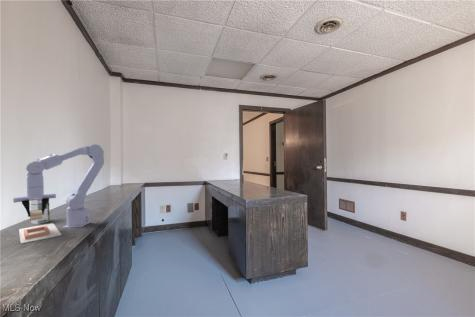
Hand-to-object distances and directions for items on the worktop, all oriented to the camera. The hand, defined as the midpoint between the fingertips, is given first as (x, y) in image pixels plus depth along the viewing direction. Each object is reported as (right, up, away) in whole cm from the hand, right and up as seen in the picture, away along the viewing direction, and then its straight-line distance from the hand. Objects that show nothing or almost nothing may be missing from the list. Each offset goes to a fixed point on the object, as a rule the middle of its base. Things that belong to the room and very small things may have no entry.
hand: (35, 215), depth 101 cm
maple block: (0, -1, 0) cm, 1 cm away
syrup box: (-13, -9, +16) cm, 22 cm away
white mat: (+1, -8, 0) cm, 8 cm away
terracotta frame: (+3, -8, -2) cm, 9 cm away
